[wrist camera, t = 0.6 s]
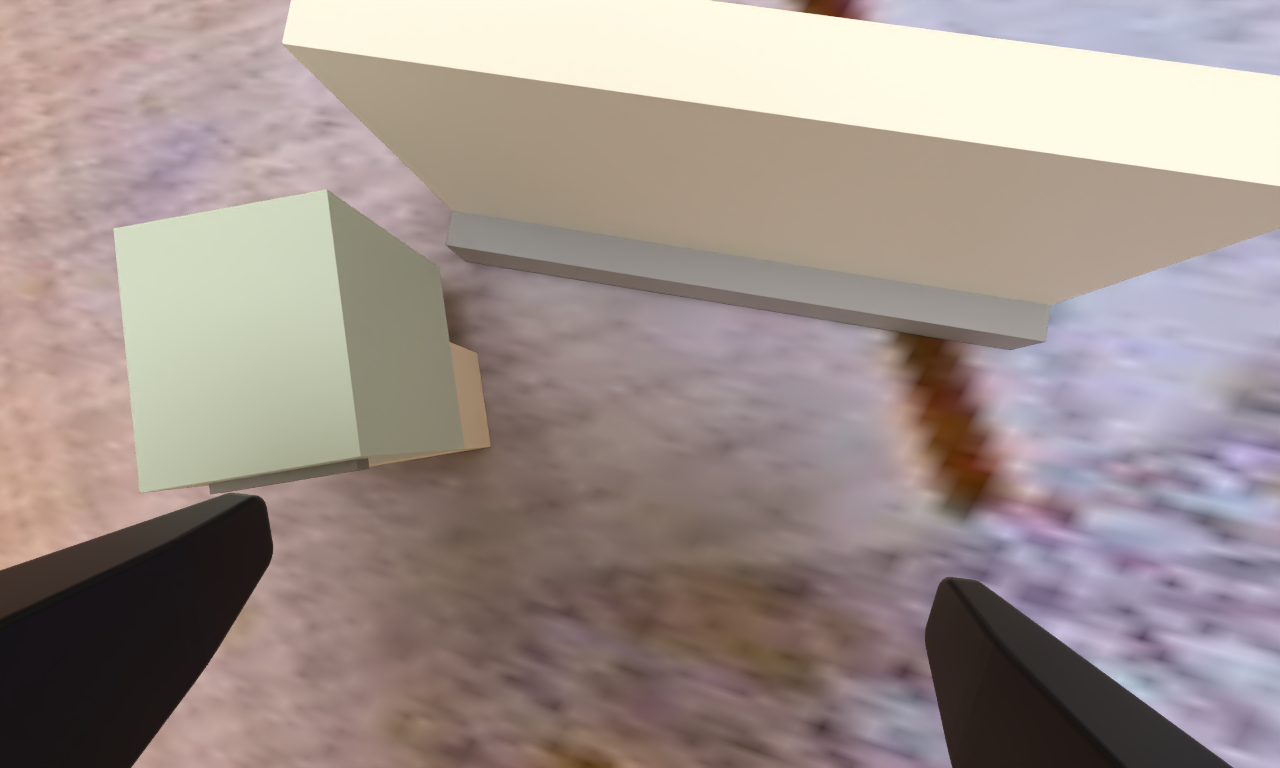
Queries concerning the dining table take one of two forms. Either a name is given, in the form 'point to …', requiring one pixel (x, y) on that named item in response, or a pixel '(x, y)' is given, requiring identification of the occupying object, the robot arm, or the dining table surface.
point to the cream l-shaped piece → (802, 154)
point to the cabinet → (287, 347)
